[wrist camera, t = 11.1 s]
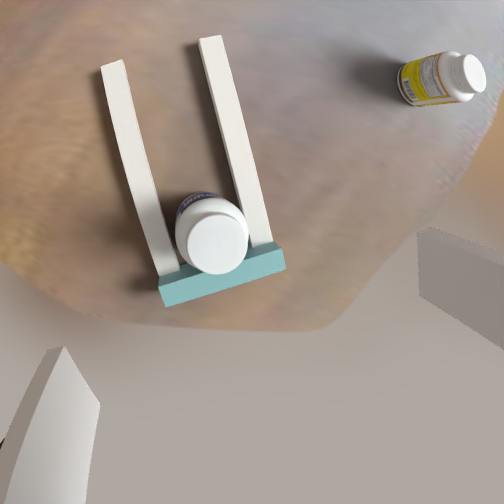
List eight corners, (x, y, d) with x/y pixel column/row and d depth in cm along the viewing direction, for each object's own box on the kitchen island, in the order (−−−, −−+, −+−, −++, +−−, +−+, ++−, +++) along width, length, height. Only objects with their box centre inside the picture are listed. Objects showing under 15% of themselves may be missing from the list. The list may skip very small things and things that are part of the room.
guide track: (103, 71, 24) (94, 58, 20) (218, 40, 25) (225, 24, 21) (166, 289, 31) (165, 307, 27) (273, 256, 32) (286, 269, 28)
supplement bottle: (431, 79, 31) (493, 69, 21) (423, 115, 32) (487, 111, 22) (400, 54, 29) (461, 35, 20) (389, 91, 30) (454, 78, 21)
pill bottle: (234, 191, 30) (261, 204, 20) (231, 247, 31) (256, 283, 22) (175, 190, 28) (175, 202, 19) (174, 247, 30) (175, 285, 21)
